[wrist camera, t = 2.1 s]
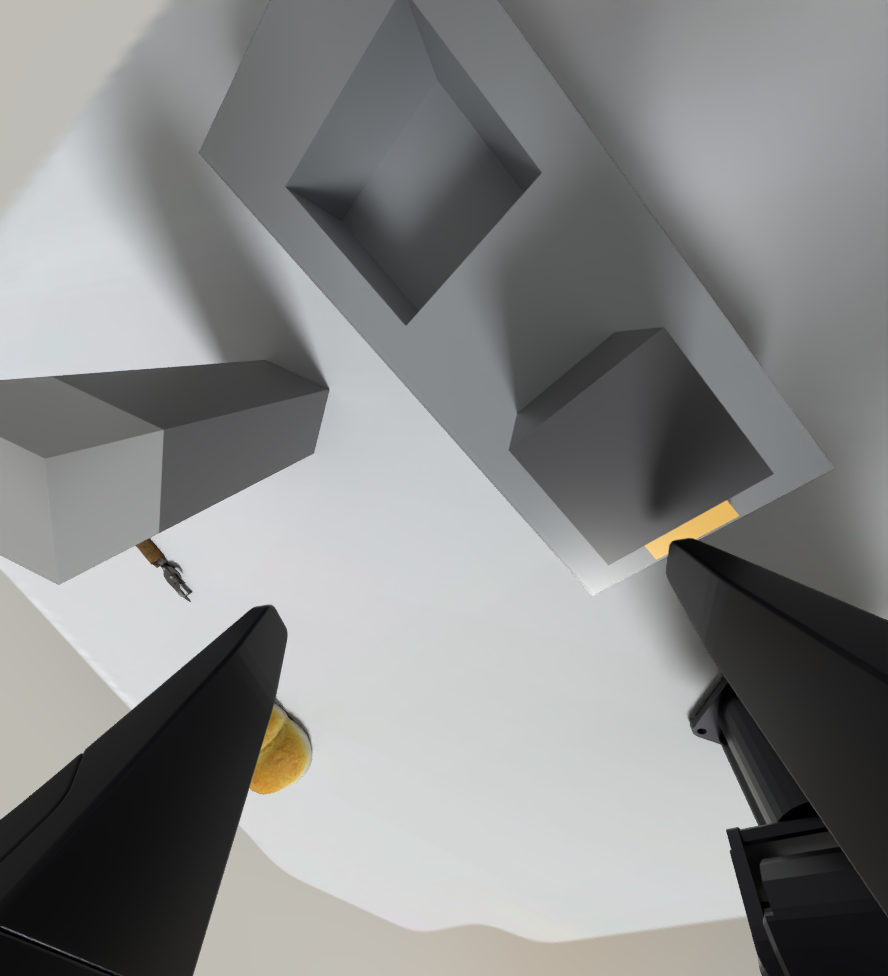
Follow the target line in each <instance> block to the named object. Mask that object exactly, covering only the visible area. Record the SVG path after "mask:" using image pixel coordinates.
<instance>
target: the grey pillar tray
mask: <svg viewBox="0 0 888 976" xmlns="http://www.w3.org/2000/svg"><path fill="white" fill-rule="evenodd" d="M199 154H200V155H201V156H202V157H203V158H204V159H205V161H206V162H207V163H208V164H209V165H210V166H211V167H212V168H213V170H214V171H215V172H216V173H217V174H218V175H219V176H220V177H221V179H222V180H223V181H224V182H225V183H226V184H227V185H228V187H229V188H230V189H231V190H232V191H233V192H234V193H235V194H236V196H237V197H238V198H239V199H240V200H241V201H242V202H243V203H244V205H245V206H246V207H247V208H248V209H249V210H250V211H251V212H252V214H253V215H254V216H255V217H256V218H257V219H258V220H259V221H260V223H261V224H262V225H263V226H264V227H265V228H266V229H267V230H268V232H269V233H270V234H271V235H272V236H273V237H274V238H275V239H276V241H277V242H278V243H279V244H280V245H281V246H282V247H283V248H284V250H285V251H286V252H287V253H288V254H289V255H290V256H291V257H292V259H293V260H294V261H295V262H296V263H297V264H298V265H299V266H300V268H301V269H302V270H303V271H304V272H305V273H306V274H307V275H308V277H309V278H310V279H311V280H312V281H313V282H314V283H315V284H316V286H317V287H318V288H319V289H320V290H321V291H322V292H323V293H324V295H325V296H326V297H327V298H328V299H329V300H330V301H331V302H332V304H333V305H334V306H335V307H336V308H337V309H338V310H339V311H340V313H341V314H342V315H343V316H344V317H345V318H346V319H347V320H348V322H349V323H350V324H351V325H352V326H353V327H354V328H355V330H356V331H357V332H358V333H359V334H360V335H361V336H362V337H363V339H364V340H365V341H366V342H367V343H368V344H369V345H370V346H371V348H372V349H373V350H374V351H375V352H376V353H377V354H378V355H379V357H380V358H381V359H382V360H383V361H384V362H385V363H386V364H387V366H388V367H389V368H390V369H391V370H392V371H393V372H394V373H395V375H396V376H397V377H398V378H399V379H400V380H401V381H402V382H403V384H404V385H405V386H406V387H407V388H408V389H409V390H410V391H411V393H412V394H413V395H414V396H415V397H416V398H417V399H418V400H419V402H420V403H421V404H422V405H423V406H424V407H425V408H426V409H427V411H428V412H429V413H430V414H431V415H432V416H433V417H434V418H435V420H436V421H437V422H438V423H439V424H440V425H441V426H442V427H443V429H444V430H445V431H446V432H447V433H448V434H449V435H450V436H451V438H452V439H453V440H454V441H455V442H456V443H457V444H458V445H459V447H460V448H461V449H462V450H463V451H464V452H465V453H466V454H467V456H468V457H469V458H470V459H471V460H472V461H473V462H474V463H475V465H476V466H477V467H478V468H479V469H480V470H481V471H482V473H483V474H484V475H485V476H486V477H487V478H488V479H489V480H490V482H491V483H492V484H493V485H494V486H495V487H496V488H497V489H498V491H499V492H500V493H501V494H502V495H503V496H504V497H505V498H506V500H507V501H508V502H509V503H510V504H511V505H512V506H513V507H514V509H515V510H516V511H517V512H518V513H519V514H520V515H521V516H522V518H523V519H524V520H525V521H526V522H527V523H528V524H529V525H530V527H531V528H532V529H533V530H534V531H535V532H536V533H537V534H538V536H539V537H540V538H541V539H542V540H543V541H544V542H545V543H546V545H547V546H548V547H549V548H550V549H551V550H552V551H553V552H554V554H555V555H556V556H557V557H558V558H559V559H560V560H561V561H562V563H563V564H564V565H565V566H566V567H567V568H568V569H569V570H570V572H571V573H572V574H573V575H574V576H575V577H576V578H577V579H578V581H579V582H580V583H581V584H582V585H583V586H584V587H585V588H586V590H587V591H588V592H589V593H590V594H591V595H592V596H593V595H595V594H597V593H599V592H601V591H603V590H605V589H607V588H608V587H610V586H612V585H614V584H616V583H618V582H620V581H622V580H624V579H626V578H627V577H629V576H631V575H633V574H635V573H637V572H639V571H641V570H643V569H645V568H646V567H648V566H650V565H652V564H654V563H656V562H658V561H660V560H662V559H664V558H665V557H667V556H668V551H669V545H670V543H671V542H672V541H674V540H679V539H686V538H693V539H696V540H700V539H702V538H704V537H705V536H707V535H709V534H711V533H713V532H715V531H717V530H719V529H721V528H723V527H724V526H726V525H728V524H730V523H732V522H734V521H736V520H738V519H740V518H742V517H743V516H745V515H747V514H749V513H751V512H753V511H755V510H757V509H759V508H761V507H762V506H764V505H766V504H768V503H770V502H772V501H774V500H776V499H778V498H780V497H781V496H783V495H785V494H787V493H789V492H791V491H793V490H795V489H797V488H799V487H801V486H802V485H804V484H806V483H808V482H810V481H812V480H814V479H816V478H818V477H820V476H821V475H823V474H825V473H827V472H829V471H831V470H833V469H835V468H834V467H833V466H832V464H831V463H830V461H829V460H828V459H827V457H826V456H825V455H824V453H823V452H822V450H821V449H820V448H819V446H818V445H817V443H816V442H815V441H814V439H813V438H812V436H811V435H810V434H809V432H808V431H807V429H806V428H805V427H804V425H803V424H802V423H801V421H800V420H799V418H798V417H797V416H796V414H795V413H794V411H793V410H792V409H791V407H790V406H789V404H788V403H787V402H786V400H785V399H784V397H783V396H782V395H781V393H780V392H779V391H778V389H777V388H776V386H775V385H774V384H773V382H772V381H771V379H770V378H769V377H768V375H767V374H766V372H765V371H764V370H763V368H762V367H761V365H760V364H759V363H758V361H757V360H756V359H755V357H754V356H753V354H752V353H751V352H750V350H749V349H748V347H747V346H746V345H745V343H744V342H743V340H742V339H741V338H740V336H739V335H738V333H737V332H736V331H735V329H734V328H733V327H732V325H731V324H730V322H729V321H728V320H727V318H726V317H725V315H724V314H723V313H722V311H721V310H720V308H719V307H718V306H717V304H716V303H715V301H714V300H713V299H712V297H711V296H710V295H709V293H708V292H707V290H706V289H705V288H704V286H703V285H702V283H701V282H700V281H699V279H698V278H697V276H696V275H695V274H694V272H693V271H692V269H691V268H690V267H689V265H688V264H687V263H686V261H685V260H684V258H683V257H682V256H681V254H680V253H679V251H678V250H677V249H676V247H675V246H674V244H673V243H672V242H671V240H670V239H669V237H668V236H667V235H666V233H665V232H664V231H663V229H662V228H661V226H660V225H659V224H658V222H657V221H656V219H655V218H654V217H653V215H652V214H651V212H650V211H649V210H648V208H647V207H646V205H645V204H644V203H643V201H642V200H641V199H640V197H639V196H638V194H637V193H636V192H635V190H634V189H633V187H632V186H631V185H630V183H629V182H628V180H627V179H626V178H625V176H624V175H623V173H622V172H621V171H620V169H619V168H618V167H617V165H616V164H615V162H614V161H613V160H612V158H611V157H610V155H609V154H608V153H607V151H606V150H605V148H604V147H603V146H602V144H601V143H600V141H599V140H598V139H597V137H596V136H595V135H594V133H593V132H592V130H591V129H590V128H589V126H588V125H587V123H586V122H585V121H584V119H583V118H582V116H581V115H580V114H579V112H578V111H577V109H576V108H575V107H574V105H573V104H572V103H571V101H570V100H569V98H568V97H567V96H566V94H565V93H564V91H563V90H562V89H561V87H560V86H559V84H558V83H557V82H556V80H555V79H554V77H553V76H552V75H551V73H550V72H549V71H548V69H547V68H546V66H545V65H544V64H543V62H542V61H541V59H540V58H539V57H538V55H537V54H536V52H535V51H534V50H533V48H532V47H531V45H530V44H529V43H528V41H527V40H526V39H525V37H524V36H523V34H522V33H521V32H520V30H519V29H518V27H517V26H516V25H515V23H514V22H513V20H512V19H511V18H510V16H509V15H508V13H507V12H506V11H505V9H504V8H503V7H502V5H501V4H500V2H499V1H498V0H270V2H269V4H268V6H267V8H266V11H265V13H264V15H263V17H262V19H261V21H260V23H259V25H258V28H257V30H256V32H255V34H254V36H253V38H252V40H251V42H250V45H249V47H248V49H247V51H246V53H245V55H244V57H243V60H242V62H241V64H240V66H239V68H238V70H237V72H236V74H235V77H234V79H233V81H232V83H231V85H230V87H229V89H228V91H227V94H226V96H225V98H224V100H223V102H222V104H221V106H220V109H219V111H218V113H217V115H216V117H215V119H214V121H213V123H212V126H211V128H210V130H209V132H208V134H207V136H206V138H205V141H204V143H203V145H202V147H201V149H200V151H199Z"/></svg>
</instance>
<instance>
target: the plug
mask: <svg viewBox="0 0 888 976" xmlns="http://www.w3.org/2000/svg"><path fill="white" fill-rule="evenodd" d="M328 393H329V389H327V388H325V387H323V386H321V385H318V384H316V383H314V382H312V381H310V380H308V379H305V378H303V377H301V376H299V375H297V374H294V373H292V372H290V371H288V370H286V369H283V368H281V367H279V366H277V365H275V364H272V363H270V362H268V361H266V360H260V361H246V362H233V363H220V364H207V365H194V366H181V367H168V368H155V369H141V370H128V371H115V372H102V373H89V374H76V375H63V376H50V377H37V378H23V379H10V380H0V555H1V556H3V557H5V558H7V559H9V560H11V561H13V562H15V563H17V564H19V565H21V566H23V567H24V568H26V569H28V570H30V571H32V572H34V573H36V574H38V575H40V576H42V577H44V578H46V579H48V580H50V581H52V582H54V583H56V584H58V585H59V584H61V583H63V582H65V581H67V580H69V579H71V578H73V577H75V576H77V575H79V574H81V573H83V572H85V571H86V570H88V569H90V568H92V567H94V566H96V565H98V564H100V563H102V562H104V561H106V560H108V559H110V558H112V557H114V556H116V555H117V554H119V553H121V552H123V551H125V550H127V549H129V548H131V547H133V546H135V545H137V544H139V543H141V542H143V541H145V540H147V539H149V538H150V537H152V536H154V535H156V534H158V533H160V532H162V531H164V530H166V529H168V528H170V527H172V526H174V525H176V524H178V523H180V522H181V521H183V520H185V519H187V518H189V517H191V516H193V515H195V514H197V513H199V512H201V511H203V510H205V509H207V508H209V507H211V506H212V505H214V504H216V503H218V502H220V501H222V500H224V499H226V498H228V497H230V496H232V495H234V494H236V493H238V492H240V491H242V490H243V489H245V488H247V487H249V486H251V485H253V484H255V483H257V482H259V481H261V480H263V479H265V478H267V477H269V476H271V475H273V474H275V473H276V472H278V471H280V470H282V469H284V468H286V467H288V466H290V465H292V464H294V463H296V462H298V461H300V460H302V459H304V458H306V457H307V456H309V455H311V454H313V453H314V450H315V446H316V442H317V438H318V434H319V430H320V426H321V422H322V418H323V414H324V409H325V405H326V401H327V397H328Z"/></svg>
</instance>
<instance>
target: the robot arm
mask: <svg viewBox="0 0 888 976" xmlns="http://www.w3.org/2000/svg"><path fill="white" fill-rule="evenodd" d="M666 574H667V578H668V580H669V582H670V584H671V586H672V588H673V590H674V592H675V593H676V595H677V597H678V599H679V601H680V603H681V605H682V606H683V608H684V610H685V612H686V614H687V616H688V618H689V620H690V621H691V623H692V625H693V627H694V629H695V631H696V633H697V634H698V636H699V638H700V640H701V641H702V643H703V645H704V646H705V648H706V650H707V651H708V653H709V654H710V656H711V657H712V659H713V660H714V662H715V663H716V665H717V666H718V668H719V669H720V670H721V672H722V673H723V675H724V676H725V677H724V678H723V679H722V681H721V682H720V683H719V685H718V686H717V687H716V689H715V690H714V691H713V693H712V694H711V696H710V697H709V698H708V700H707V701H706V702H705V704H704V705H703V706H702V708H701V709H700V710H699V712H698V713H697V714H696V716H695V717H694V719H693V720H692V721H691V723H690V727H691V729H692V732H693V733H694V735H696V736H698V737H701V738H704V739H707V740H710V741H713V742H715V743H718V744H721V745H722V748H723V750H724V752H725V754H726V756H727V758H728V761H729V763H730V765H731V767H732V769H733V771H734V774H735V776H736V778H737V780H738V782H739V784H740V787H741V789H742V791H743V793H744V795H745V797H746V800H747V802H748V804H749V806H750V808H751V810H752V813H753V815H754V817H755V819H756V821H757V823H758V826H755V827H750V828H745V829H739V828H738V827H736V828H731V829H726V832H727V835H728V839H729V843H730V847H731V850H730V854H731V858H732V862H733V865H734V869H735V873H736V877H737V880H738V884H739V888H740V892H741V895H742V899H743V903H744V907H745V911H746V914H747V918H748V922H749V926H750V929H751V933H752V937H753V941H754V944H755V948H756V951H757V954H758V962H759V968H760V972H761V974H762V976H888V620H886V619H883V618H881V617H879V616H876V615H874V614H871V613H869V612H867V611H864V610H862V609H860V608H857V607H855V606H853V605H850V604H848V603H845V602H843V601H841V600H838V599H836V598H834V597H831V596H829V595H826V594H824V593H822V592H819V591H817V590H815V589H812V588H810V587H808V586H805V585H803V584H800V583H798V582H796V581H793V580H791V579H789V578H786V577H784V576H781V575H779V574H777V573H774V572H772V571H770V570H767V569H765V568H763V567H760V566H758V565H755V564H753V563H751V562H748V561H746V560H744V559H741V558H739V557H736V556H734V555H732V554H729V553H727V552H725V551H722V550H720V549H718V548H715V547H713V546H710V545H708V544H706V543H703V542H701V541H699V540H696V539H693V538H686V539H679V540H674V541H672V542H671V543H670V545H669V551H668V558H667V566H666ZM286 643H287V629H286V626H285V625H284V623H283V621H282V619H281V618H280V616H279V614H278V612H277V610H276V609H275V607H274V606H272V605H263V606H257V607H254V608H252V609H251V610H249V611H248V612H247V613H246V614H245V615H243V616H242V617H241V618H240V619H239V620H238V621H236V622H235V623H234V624H233V625H232V626H230V627H229V628H228V629H227V630H226V631H225V632H223V633H222V634H221V635H220V636H219V637H217V638H216V639H215V640H214V641H213V642H212V643H210V644H209V645H208V646H207V647H206V648H205V649H203V650H202V651H201V652H200V653H199V654H197V655H196V656H195V657H194V658H193V659H192V660H190V661H189V662H188V663H187V664H186V665H184V666H183V667H182V668H181V669H180V670H179V671H177V672H176V673H175V674H174V675H173V676H171V677H170V678H169V679H168V680H167V681H166V682H164V683H163V684H162V685H161V686H160V687H158V688H157V689H156V690H155V691H154V692H153V693H151V694H150V695H149V696H148V697H147V698H145V699H144V700H143V701H142V702H141V703H140V704H138V705H137V706H136V707H135V708H134V709H133V710H131V711H130V712H129V713H128V714H127V715H125V716H124V717H123V718H122V719H121V720H120V721H118V722H117V723H116V724H115V725H114V726H113V727H111V728H110V729H109V730H108V731H107V732H105V733H104V734H103V735H102V736H101V737H99V738H98V739H97V740H96V741H95V742H94V743H93V744H91V745H90V746H89V747H88V748H87V749H86V750H85V751H84V753H83V754H79V755H78V756H77V757H76V758H75V759H74V760H72V761H71V762H70V763H69V764H68V765H67V766H65V767H64V768H63V769H62V770H60V771H59V772H58V773H57V774H56V775H55V776H53V777H52V778H51V779H50V780H49V781H47V782H46V783H45V784H44V785H43V786H42V787H40V788H39V789H38V790H36V791H35V792H34V793H33V794H32V795H30V796H29V797H28V798H27V799H26V800H25V801H23V802H22V803H21V804H20V805H18V806H17V807H16V808H15V809H14V810H12V811H11V812H10V813H8V814H7V815H6V816H5V817H3V818H2V819H1V820H0V976H193V974H194V970H195V967H196V964H197V960H198V957H199V954H200V950H201V947H202V943H203V940H204V937H205V934H206V930H207V927H208V924H209V920H210V917H211V914H212V910H213V907H214V904H215V900H216V897H217V894H218V890H219V887H220V884H221V880H222V877H223V874H224V870H225V867H226V864H227V860H228V857H229V854H230V850H231V847H232V844H233V841H234V837H235V834H236V830H237V827H238V824H239V821H240V817H241V814H242V811H243V807H244V804H245V801H246V797H247V794H248V791H249V787H250V784H251V781H252V777H253V774H254V771H255V767H256V764H257V761H258V757H259V754H260V751H261V747H262V744H263V741H264V737H265V734H266V731H267V727H268V724H269V721H270V717H271V714H272V710H273V706H274V702H275V698H276V694H277V689H278V684H279V678H280V673H281V668H282V663H283V658H284V653H285V648H286Z"/></svg>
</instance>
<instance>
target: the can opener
mask: <svg viewBox="0 0 888 976" xmlns="http://www.w3.org/2000/svg"><path fill="white" fill-rule="evenodd" d="M135 546H136V547H137V548H138V549H139V550H140V551H141V552H142V554H143V555H144V556H145V557H146V558H147V560H148V561H149V562H150V563H151V564H153V565H154V566H155V567H156V568H158V567H159V566H161V567H162V569H163V571H164V577H165V579H166V580H167V582H168V583H169V584H170V585H171V586H172V587H173V588H174V589H175V590H176V591H177V592H178V594H179V595H180V596H181V597H183V598H185V599H186V600H188V601H189V602H191V601H190V600H189V599H188V598H187V597H186V596H187V595H189V594H190V593H192V591H191V592H190V593H188V594H187V595H185V594H184V593H183V592H182V591H181V589H180V585H179V583H180V584H184V583H185V582H183V581H180V580H179V579H178V578H177V576H176V575H175V574H174V573H176V574H177V575H178V576H179V577H180V579H181V578H182V577H181V575H180V573H179V572H178V571H177V570H176V569H174V568H173V567H170V566H167V565H166V564H165V563H166V562H167V560H166V558H165V556H164V555H163V554H162V553H161V551H160V550H159V549H158V548H157V547H156V546H155V545H154V544H153V542H152V541H151V540H150V539H147V540H145V541H143V542H141V543H139V544H137V545H135ZM175 583H176V584H175Z"/></svg>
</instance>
